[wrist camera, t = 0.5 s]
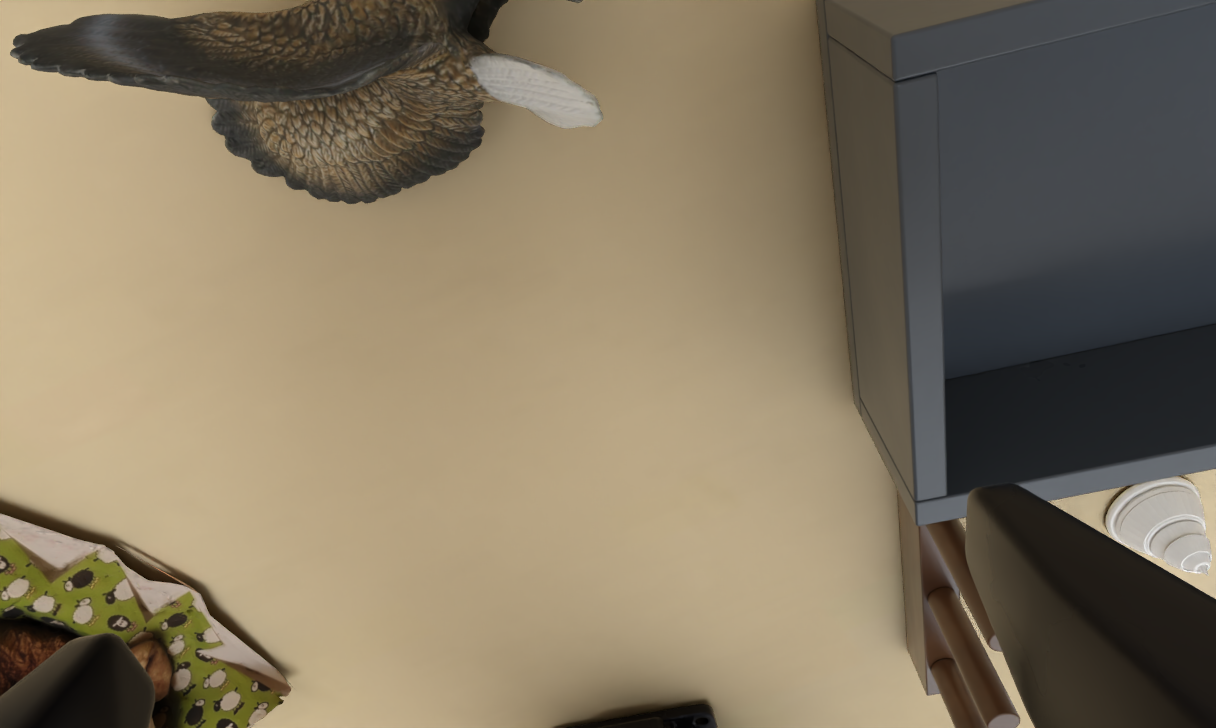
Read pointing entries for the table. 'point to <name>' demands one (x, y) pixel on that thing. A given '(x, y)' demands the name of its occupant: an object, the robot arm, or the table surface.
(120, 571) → the bear figurine
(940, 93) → the open box
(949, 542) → the drying rack
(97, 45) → the eagle figurine
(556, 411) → the table surface
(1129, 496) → the game pieces
